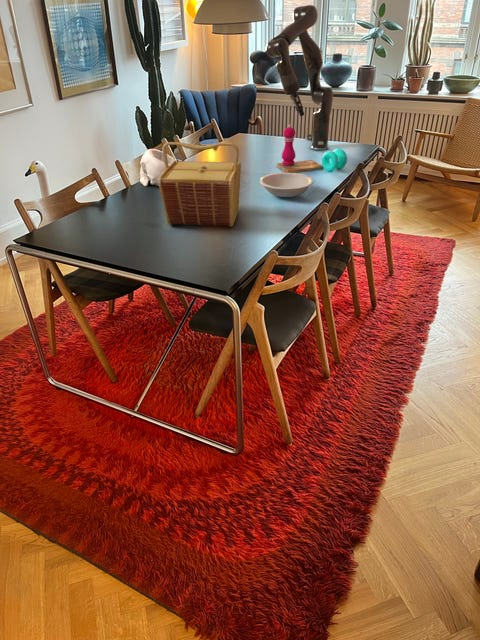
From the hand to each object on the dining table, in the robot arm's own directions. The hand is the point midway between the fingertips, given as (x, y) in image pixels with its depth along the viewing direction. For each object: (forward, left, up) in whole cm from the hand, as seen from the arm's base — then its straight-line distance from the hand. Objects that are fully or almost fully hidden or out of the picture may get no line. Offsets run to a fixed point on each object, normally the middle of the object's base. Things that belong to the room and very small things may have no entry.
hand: (300, 112), depth 244 cm
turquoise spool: (+18, +12, -26) cm, 33 cm away
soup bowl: (+45, -25, -26) cm, 58 cm away
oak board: (+8, -2, -26) cm, 27 cm away
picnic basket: (+61, -67, -26) cm, 94 cm away
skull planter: (+9, -77, -26) cm, 82 cm away
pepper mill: (+5, -8, -24) cm, 26 cm away
